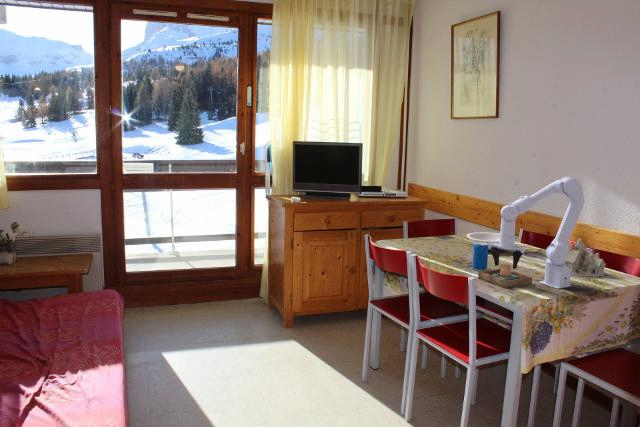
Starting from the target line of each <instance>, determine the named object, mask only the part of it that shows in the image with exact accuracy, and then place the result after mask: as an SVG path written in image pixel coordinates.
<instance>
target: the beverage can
mask: <svg viewBox="0 0 640 427" xmlns="http://www.w3.org/2000/svg"><path fill="white" fill-rule="evenodd" d="M472 245H473V246H472V262H471V266H472V267H471V268H472V269H473V270H474V271H476V270H477V272H480V271H487V270H488V261H489V260H488V259H489V257H488V256H489V250H488V245H487V243H484V242H475V243H474V244H472Z"/></svg>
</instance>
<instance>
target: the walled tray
mask: <svg viewBox="0 0 640 427" xmlns="http://www.w3.org/2000/svg"><path fill="white" fill-rule="evenodd" d="M477 279H479V280H481V281H483V280H484V281H483V282H486V283H489V284H492V285H495V286H498V287H500V288H503V289H506V290H508V289H512V288H519V287H523V286H525V287H526V286H530V285H532V284H533V276H530V275H527V274H525V273H524V274H523V273H520V272H518V271H513V270H512V269H510V278H503V277H500V268H496V269H486V270H485V271H478V276H477Z"/></svg>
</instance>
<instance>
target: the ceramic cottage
mask: <svg viewBox="0 0 640 427" xmlns="http://www.w3.org/2000/svg"><path fill="white" fill-rule="evenodd" d="M565 265H566V266H567V267H569V268H570V270H571V276H573V277H575V276H576V277H586V276H593V277H592V278H600V277H599V276H601V277H605V267H606V265H607V264H606V262H605V261H604V259H603V258H600V253H599V252H596V253H595V254H594V253H593V252H588V249H587V247H586V246H585V244H584V243H583V242H582V239H581V238H577V241H576V244H575V246H574V247H573V244H571V243H568V249H567V252H566V261H565Z"/></svg>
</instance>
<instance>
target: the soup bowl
mask: <svg viewBox="0 0 640 427" xmlns="http://www.w3.org/2000/svg"><path fill="white" fill-rule="evenodd" d="M466 238H468V239H469V241H470V242H471V243H472V245H474V243H475V242H484V243H487V245H488V251H490V249H491V248H489V243H491V242H492V243H500V232H485V231H484V232H483V231H482V232H481V231H479V232H471V233H468V234H467V235H466Z"/></svg>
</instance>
